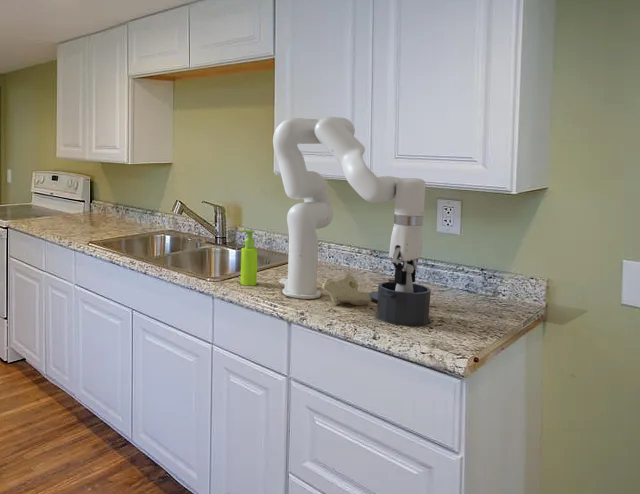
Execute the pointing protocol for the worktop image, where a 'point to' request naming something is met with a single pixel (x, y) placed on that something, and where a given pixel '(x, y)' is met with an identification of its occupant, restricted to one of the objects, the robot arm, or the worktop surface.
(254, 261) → the soap dispenser
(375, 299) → the lid
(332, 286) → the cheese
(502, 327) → the worktop surface
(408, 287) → the salt shaker
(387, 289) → the pot
